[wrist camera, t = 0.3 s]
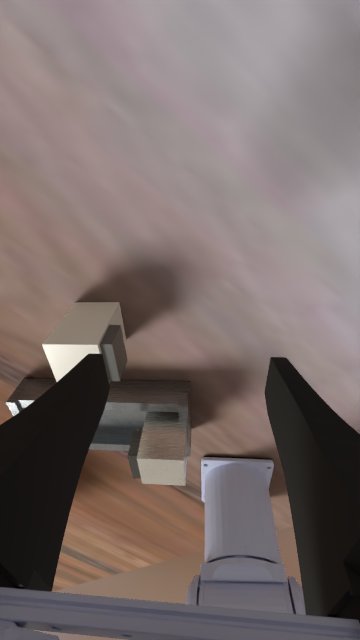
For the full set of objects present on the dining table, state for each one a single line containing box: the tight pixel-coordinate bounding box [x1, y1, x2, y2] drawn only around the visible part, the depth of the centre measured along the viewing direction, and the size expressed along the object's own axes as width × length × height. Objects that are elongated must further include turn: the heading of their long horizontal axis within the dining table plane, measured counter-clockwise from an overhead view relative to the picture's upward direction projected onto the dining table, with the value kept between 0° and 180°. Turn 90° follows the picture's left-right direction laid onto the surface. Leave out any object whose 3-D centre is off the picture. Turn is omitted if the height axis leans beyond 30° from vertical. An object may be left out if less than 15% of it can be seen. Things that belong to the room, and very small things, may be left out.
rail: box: [6, 378, 191, 486], centre depth 26 cm, size 7×16×7 cm, turn 93°
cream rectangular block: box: [42, 302, 127, 383], centre depth 21 cm, size 4×4×5 cm
